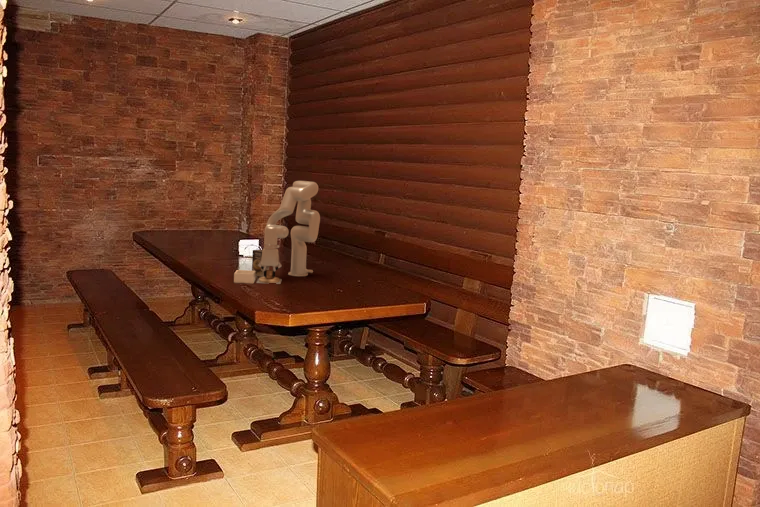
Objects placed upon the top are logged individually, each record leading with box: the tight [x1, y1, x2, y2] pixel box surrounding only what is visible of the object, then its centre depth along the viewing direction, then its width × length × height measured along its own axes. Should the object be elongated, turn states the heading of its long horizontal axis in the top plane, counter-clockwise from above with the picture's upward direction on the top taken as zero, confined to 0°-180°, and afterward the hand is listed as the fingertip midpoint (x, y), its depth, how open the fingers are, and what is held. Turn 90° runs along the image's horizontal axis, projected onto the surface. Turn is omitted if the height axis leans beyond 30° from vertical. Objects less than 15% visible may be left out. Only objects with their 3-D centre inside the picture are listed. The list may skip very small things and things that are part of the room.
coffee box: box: [251, 249, 270, 278], centre depth 390 cm, size 9×6×16 cm
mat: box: [255, 278, 283, 285], centre depth 375 cm, size 14×14×1 cm
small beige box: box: [233, 269, 256, 285], centre depth 370 cm, size 11×11×6 cm
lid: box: [258, 269, 281, 284], centre depth 375 cm, size 12×12×6 cm
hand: (269, 277), depth 375 cm, fingers closed on lid, 4 cm apart
